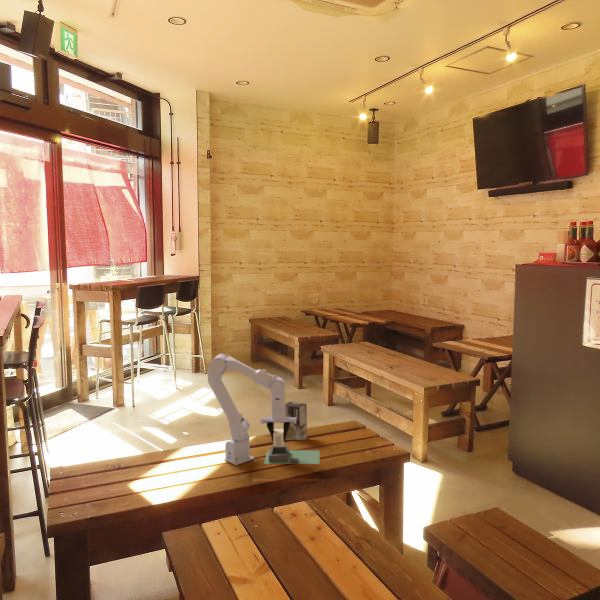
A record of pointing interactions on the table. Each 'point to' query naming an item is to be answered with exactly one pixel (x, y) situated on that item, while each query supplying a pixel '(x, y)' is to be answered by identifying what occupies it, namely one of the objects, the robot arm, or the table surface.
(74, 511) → the table surface
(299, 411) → the coffee box
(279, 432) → the plug
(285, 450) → the board
